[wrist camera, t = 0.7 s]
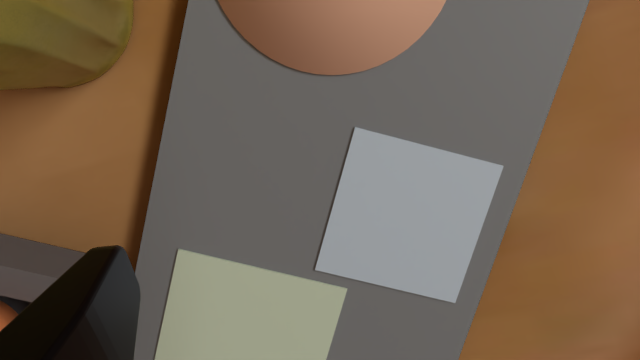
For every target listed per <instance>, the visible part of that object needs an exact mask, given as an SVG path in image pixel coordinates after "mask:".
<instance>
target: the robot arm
mask: <svg viewBox="0 0 640 360" xmlns="http://www.w3.org/2000/svg"><path fill="white" fill-rule="evenodd" d="M140 301H141V292H140V286H139V283H138V280H137V277H136V275H135V273H134V270H133V268H132V265H131V263H130V260H129V258H128V255H127V253H126V251H125V250H124V248H123V247H121V246H118V245H115V246H104V247H96V248H92V249H90V250H89V251H88V252H87V253H86V254H84V255H83V256H82V257H81V258H80V259H79V260H78V261H77V262H76V263H75V264H73V265H72V266H71V267H70V268H69V269H68V270H67V271H66V272H65V273H64V274H62V275H61V276H60V277H59V278H58V279H57V280H56V281H55V282H54V283H53V284H51V285H50V286H49V287H48V288H47V289H46V290H45V291H44V292H43V293H42V294H40V295H39V296H38V297H37V298H36V299H35V300H34V301H33V302H32V303H31V304H29V305H28V306H27V307H26V308H25V309H24V310H23V311H22V312H21V313H20V314H18V315H17V316H16V317H15V318H14V319H13V320H12V321H11V322H10V323H9V324H7V325H6V326H5V327H4V328H3V329H2V330H1V331H0V360H134V354H135V345H136V336H137V328H138V319H139V310H140Z"/></svg>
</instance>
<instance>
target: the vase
mask: <svg viewBox="0 0 640 360" xmlns="http://www.w3.org/2000/svg"><path fill="white" fill-rule="evenodd" d="M132 24H133V0H0V90H12V89H27V88H43V87H65V88H69V87H73V86H78V85H80V84H83V83H86V82H89V81H91V80H94V79H96V78H98V77H100V76H101V75H102V74H104V73H105V72H106V71H107V70H108V69H110V68H111V67H112V66H113V65H114V64H115V62H116V61H117V60H118V59H119V57H120V56H121V55H122V53H123V52H124V50H125V48H126V46H127V44H128V41H129V38H130V34H131V30H132Z"/></svg>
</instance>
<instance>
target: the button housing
mask: <svg viewBox="0 0 640 360" xmlns="http://www.w3.org/2000/svg"><path fill="white" fill-rule="evenodd" d="M84 254H86V253H83V252H79V251H74V250H70V249H66V248H61V247H57V246H53V245H48V244H44V243H40V242H35V241H31V240H27V239H22V238H18V237H14V236H9V235H5V234H1V233H0V301H2V302H4V303H6V304H7V305H8V306H10V307H11V308H12V309H13V310H15V311H16V312H17V313H18V314H20V313H21V312H22V311H23V310H24V309H25V308H26V307H27V306H28V305H29V304H31V303H32V302H33V301H34V300H35V299H36V298H37V297H38V296H39V295H40V294H42V293H43V292H44V291H45V290H46V289H47V288H48V287H49V286H50V285H51V284H53V283H54V282H55V281H56V280H57V279H58V278H59V277H60V276H61V275H62V274H64V273H65V272H66V271H67V270H68V269H69V268H70V267H71V266H72V265H73V264H75V263H76V262H77V261H78V260H79V259H80V258H81V257H82V256H83V255H84Z"/></svg>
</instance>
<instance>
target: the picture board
mask: <svg viewBox="0 0 640 360" xmlns="http://www.w3.org/2000/svg"><path fill="white" fill-rule="evenodd" d="M588 3H589V0H188V5H187V10H186V16H185V21H184V26H183V31H182V36H181V41H180V46H179V51H178V56H177V61H176V67H175V72H174V77H173V82H172V87H171V92H170V97H169V102H168V107H167V112H166V118H165V123H164V128H163V133H162V138H161V143H160V148H159V153H158V158H157V163H156V169H155V174H154V179H153V184H152V189H151V194H150V199H149V204H148V209H147V214H146V219H145V225H144V230H143V235H142V240H141V245H140V250H139V255H138V260H137V265H136V270H135V275H136V277H137V280H138V283H139V286H140V292H141V301H140V310H139V319H138V328H137V336H136V345H135V354H134V360H458V359H459V356H460V353H461V350H462V348H463V345H464V342H465V339H466V337H467V334H468V331H469V328H470V326H471V323H472V320H473V317H474V315H475V312H476V309H477V307H478V304H479V301H480V298H481V296H482V293H483V290H484V287H485V285H486V282H487V279H488V276H489V274H490V271H491V268H492V265H493V263H494V260H495V257H496V255H497V252H498V249H499V246H500V244H501V241H502V238H503V235H504V233H505V230H506V227H507V224H508V222H509V219H510V216H511V214H512V211H513V208H514V205H515V203H516V200H517V197H518V194H519V192H520V189H521V186H522V183H523V181H524V178H525V175H526V172H527V170H528V167H529V164H530V162H531V159H532V156H533V153H534V151H535V148H536V145H537V142H538V140H539V137H540V134H541V131H542V129H543V126H544V123H545V121H546V118H547V115H548V112H549V110H550V107H551V104H552V101H553V99H554V96H555V93H556V90H557V88H558V85H559V82H560V79H561V77H562V74H563V71H564V69H565V66H566V63H567V60H568V58H569V55H570V52H571V49H572V47H573V44H574V41H575V38H576V36H577V33H578V30H579V27H580V25H581V22H582V19H583V17H584V14H585V11H586V8H587V6H588Z"/></svg>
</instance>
